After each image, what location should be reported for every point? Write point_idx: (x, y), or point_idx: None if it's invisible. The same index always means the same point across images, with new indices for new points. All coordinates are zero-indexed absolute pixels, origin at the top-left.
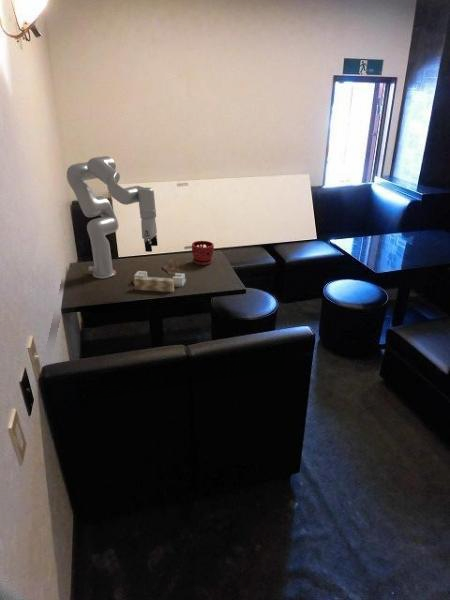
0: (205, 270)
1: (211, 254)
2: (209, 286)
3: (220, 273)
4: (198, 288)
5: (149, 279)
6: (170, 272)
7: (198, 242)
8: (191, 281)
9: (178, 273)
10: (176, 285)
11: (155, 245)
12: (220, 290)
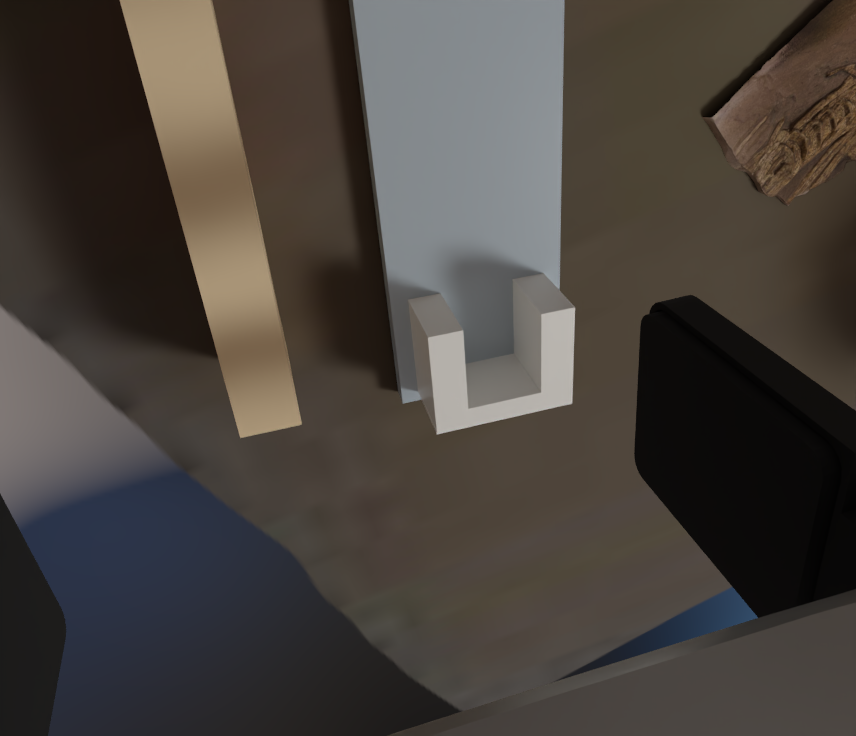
0: None
1: None
2: (463, 569)
3: None
4: (398, 520)
5: (177, 115)
6: (768, 98)
7: None
8: None
9: (569, 340)
10: (392, 337)
11: (642, 434)
12: (405, 655)
